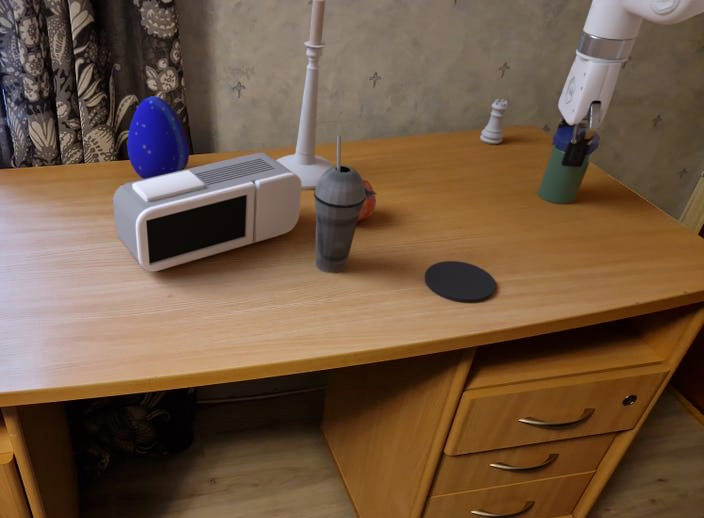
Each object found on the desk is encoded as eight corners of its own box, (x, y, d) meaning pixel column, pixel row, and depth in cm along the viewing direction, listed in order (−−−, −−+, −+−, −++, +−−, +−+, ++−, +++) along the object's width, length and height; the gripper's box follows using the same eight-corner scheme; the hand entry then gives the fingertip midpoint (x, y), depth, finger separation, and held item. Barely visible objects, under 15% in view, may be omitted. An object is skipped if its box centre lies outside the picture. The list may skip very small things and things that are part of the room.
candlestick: (316, 154, 133) (333, -17, 113) (351, 182, 124) (376, 1, 104) (257, 165, 129) (265, -10, 109) (289, 194, 120) (303, 9, 100)
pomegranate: (320, 230, 115) (355, 218, 106) (312, 187, 114) (347, 172, 105) (355, 225, 118) (392, 213, 109) (348, 183, 118) (385, 167, 109)
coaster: (479, 263, 104) (480, 259, 103) (505, 301, 96) (506, 298, 96) (416, 265, 103) (416, 261, 103) (436, 304, 95) (437, 300, 95)
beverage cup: (342, 283, 99) (361, 152, 86) (298, 268, 102) (310, 140, 89) (362, 260, 104) (383, 133, 91) (319, 247, 107) (334, 122, 94)
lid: (558, 152, 112) (561, 143, 111) (548, 135, 117) (551, 125, 116) (602, 154, 112) (606, 144, 110) (589, 136, 117) (593, 127, 116)
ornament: (197, 180, 124) (196, 97, 114) (162, 198, 119) (157, 113, 109) (154, 163, 129) (149, 82, 119) (119, 179, 124) (111, 96, 114)
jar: (563, 185, 124) (583, 129, 117) (583, 202, 119) (605, 145, 112) (530, 188, 123) (548, 132, 116) (549, 205, 118) (569, 148, 111)
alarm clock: (142, 282, 99) (136, 208, 91) (117, 252, 105) (110, 181, 97) (297, 236, 109) (304, 166, 101) (267, 211, 115) (271, 144, 107)
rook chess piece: (505, 140, 139) (516, 101, 134) (496, 146, 136) (507, 107, 131) (485, 134, 141) (495, 95, 136) (475, 140, 139) (485, 101, 133)
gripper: (567, 29, 111) (534, 134, 123) (593, 62, 98) (553, 176, 110) (615, 31, 110) (577, 137, 122) (647, 65, 97) (601, 180, 109)
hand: (566, 155), depth 116 cm, fingers closed on lid, 6 cm apart
